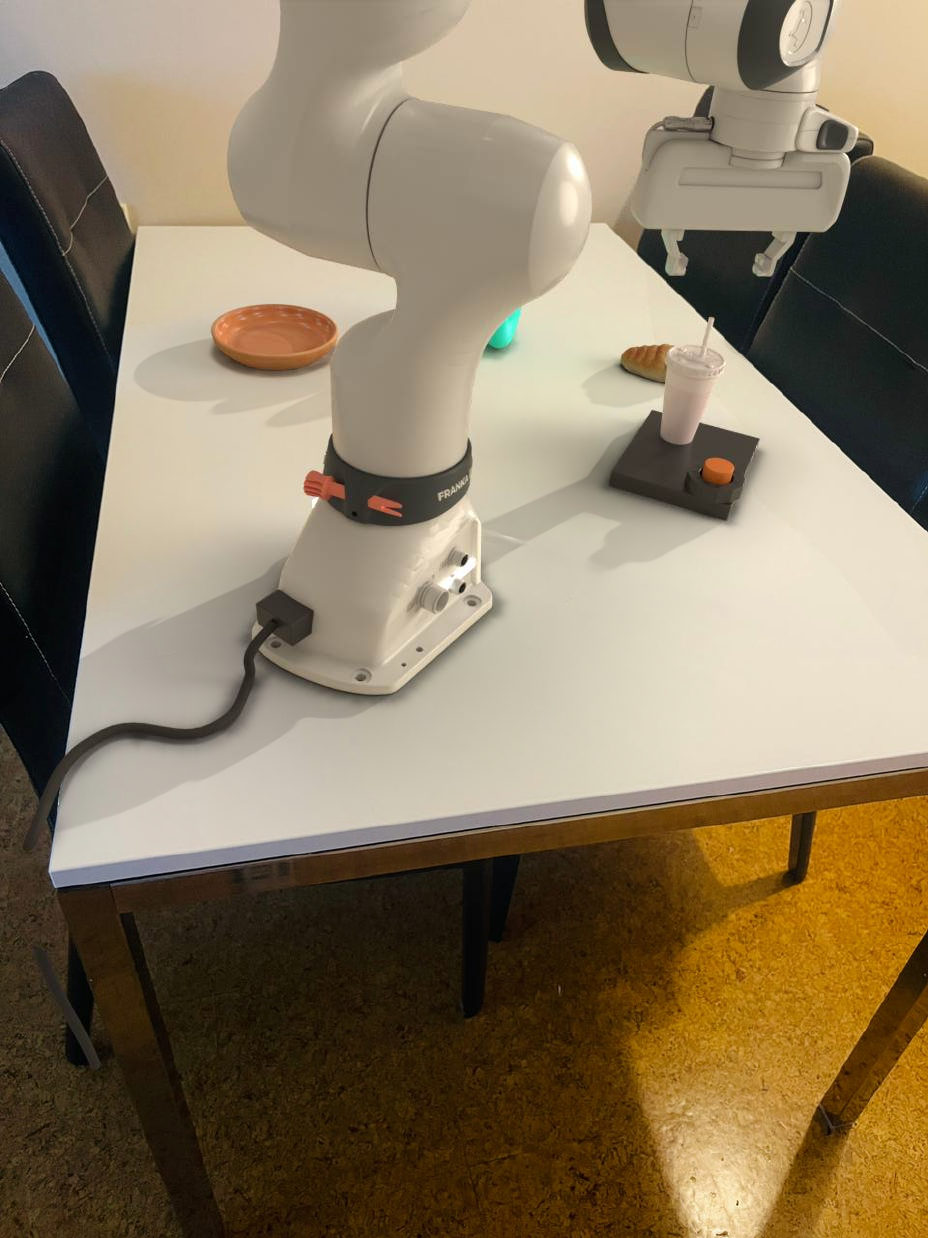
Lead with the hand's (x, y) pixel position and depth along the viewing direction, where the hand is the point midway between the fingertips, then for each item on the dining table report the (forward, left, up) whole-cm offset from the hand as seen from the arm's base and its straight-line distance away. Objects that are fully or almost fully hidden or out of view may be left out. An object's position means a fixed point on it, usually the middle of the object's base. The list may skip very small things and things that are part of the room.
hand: (718, 274), depth 89 cm
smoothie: (0, 0, -19) cm, 19 cm away
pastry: (+19, +7, -21) cm, 29 cm away
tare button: (-8, -6, -17) cm, 20 cm away
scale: (-3, -2, -21) cm, 21 cm away
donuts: (+15, +32, -21) cm, 41 cm away
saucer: (-2, +53, -21) cm, 57 cm away
